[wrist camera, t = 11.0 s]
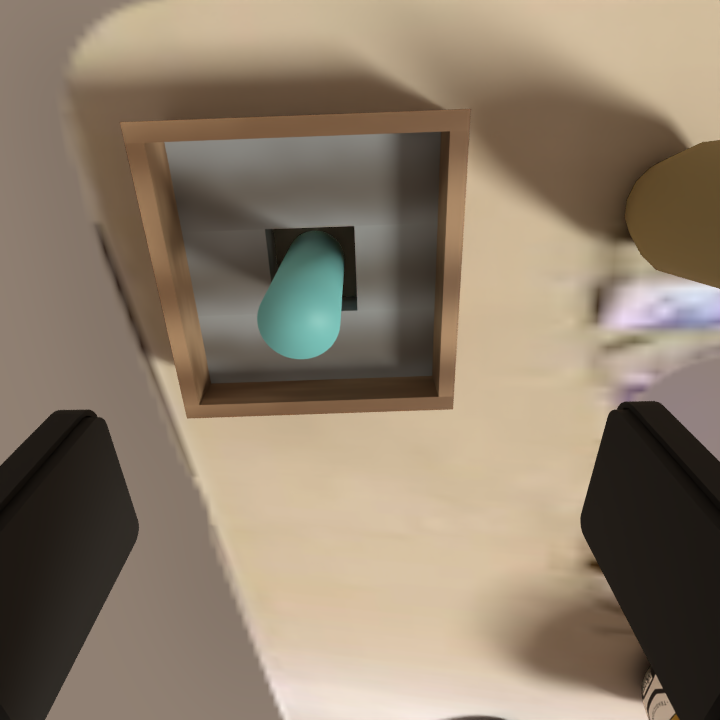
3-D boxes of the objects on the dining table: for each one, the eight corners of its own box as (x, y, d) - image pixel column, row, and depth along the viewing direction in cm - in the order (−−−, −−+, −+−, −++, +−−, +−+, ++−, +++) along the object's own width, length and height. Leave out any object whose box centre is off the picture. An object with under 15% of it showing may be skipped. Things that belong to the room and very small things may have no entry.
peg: (285, 231, 33) (252, 283, 22) (343, 229, 33) (338, 280, 22) (290, 287, 35) (262, 360, 24) (345, 285, 35) (342, 358, 24)
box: (161, 122, 30) (119, 122, 25) (449, 111, 30) (470, 108, 25) (210, 376, 38) (187, 418, 33) (438, 368, 38) (452, 409, 32)
